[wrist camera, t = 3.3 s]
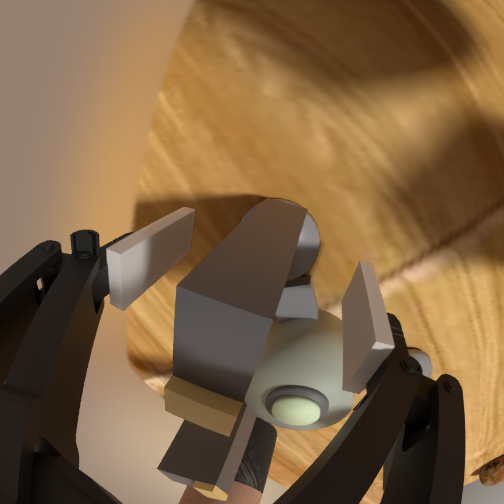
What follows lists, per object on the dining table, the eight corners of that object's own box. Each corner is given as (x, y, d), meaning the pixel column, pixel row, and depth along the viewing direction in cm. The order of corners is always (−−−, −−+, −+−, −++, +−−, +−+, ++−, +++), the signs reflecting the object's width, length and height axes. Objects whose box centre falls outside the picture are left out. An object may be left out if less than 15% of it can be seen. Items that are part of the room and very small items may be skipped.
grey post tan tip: (221, 399, 26) (177, 491, 15) (202, 366, 24) (144, 466, 14) (267, 401, 24) (232, 505, 13) (252, 366, 22) (203, 485, 12)
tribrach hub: (250, 266, 19) (214, 324, 13) (405, 288, 16) (431, 355, 10) (245, 376, 24) (221, 434, 17) (360, 394, 21) (359, 455, 15)
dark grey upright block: (248, 188, 17) (116, 276, 6) (330, 213, 16) (331, 356, 5) (233, 261, 19) (132, 393, 8) (305, 285, 18) (268, 448, 7)
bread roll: (476, 463, 28) (478, 488, 22) (480, 468, 23) (482, 497, 17) (510, 443, 24) (513, 469, 18) (519, 446, 19) (522, 475, 13)
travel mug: (206, 415, 29) (138, 544, 11) (254, 407, 25) (187, 570, 8) (243, 444, 30) (194, 563, 12) (291, 438, 27) (247, 580, 9)
